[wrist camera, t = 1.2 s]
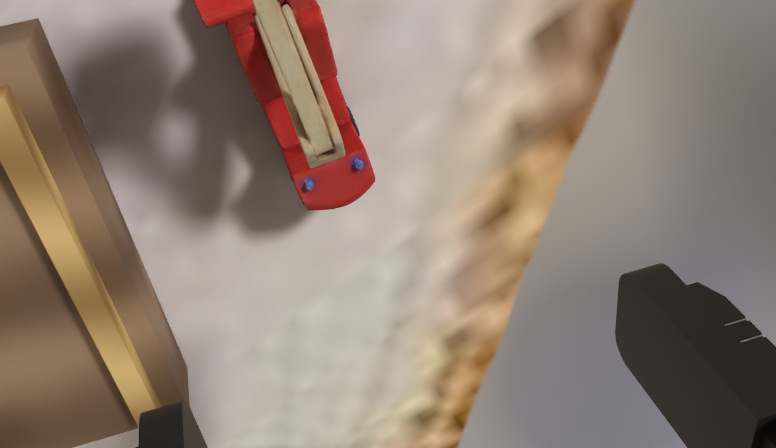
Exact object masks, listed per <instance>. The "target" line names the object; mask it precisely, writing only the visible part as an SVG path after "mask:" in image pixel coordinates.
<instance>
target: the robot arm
mask: <svg viewBox="0 0 776 448" xmlns="http://www.w3.org/2000/svg"><path fill="white" fill-rule="evenodd" d="M615 334H616V342H617V346H618V349H619V352H620V354H621V356H622V359H623V360H624V362H625V364H626V366H627V367H628V368H629V370H630V371H631V372H632V374H633V375H634V376H635V378H636V379H637V380H638V382H639V383H640V384H641V386H642V387H643V388H644V390H645V391H646V393H647V394H648V395H649V396H650V398H651V399H652V401H653V402H654V403H655V405H656V406H657V407H658V409H659V410H660V411H661V413H662V414H663V415H664V417H665V418H666V419H667V421H668V422H669V423H670V425H671V426H672V427H673V429H674V430H675V431H676V433H677V434H678V436H679V437H680V438H681V440H682V441H683V442H684V444H685V445H686V446H687V448H776V347H775V346H774V345H773V344H772V343H771V342H770V341H769V340H768V339H767V338H766V337H765V338H764V337H763V336H762V333H761V332H760V331H759V330H758V329H757V328H756V327H755V326H754V325H753V324H752V323H751V322H750V321H746V318H745V316H744V315H743V314H742V313H741V312H740V311H739V310H738V309H737V308H736V307H735V306H734V305H733V304H732V303H731V302H730V301H729V300H728V299H727V298H726V297H725V296H723V295H721V294H719V293H717V292H715V291H713V290H711V289H709V288H708V287H705V286H704V285H702V284H700V283H698V282H697V283H693V284H690V285H685V283H684V282H683V281H682V280H681V279H680V278H679V277H678V276H677V275H676V274H675V273H674V272H673V271H672V270H671V269H670V268H669V267H668V266H666V265H665V264H656V265H653V266H649V267H646V268H642V269H639V270H636V271H633V272H629V273H625V274H623V275H621V277H620V280H619V289H618V303H617V316H616V330H615ZM136 448H208V447H207V445H206V443H205V441H204V438H203V436H202V434H201V432H200V429H199V427H198V425H197V423H196V420H195V418H194V416H193V414H192V411H191V409H190V407H189V405H188V403H187V402H186V401H185V400H184V401H180V402H177V403H173V404H170V405H167V406H163V407H160V408H156V409H153V410H149V411H146V412H142V413H141V414H140V418H139V447H136Z"/></svg>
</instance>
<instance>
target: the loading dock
mask: <svg viewBox="0 0 776 448" xmlns="http://www.w3.org/2000/svg"><path fill="white" fill-rule="evenodd" d="M184 400H185V401H186V402H187V403H188V405H189V390H188V374H187V366H186V364H185V361H184V359H183V357H182V354H181V352H180V350H179V347H178V345H177V343H176V340H175V338H174V336H173V333H172V331H171V329H170V326H169V324H168V322H167V319H166V317H165V315H164V312H163V310H162V308H161V305H160V303H159V300H158V298H157V296H156V293H155V291H154V289H153V286H152V284H151V282H150V279H149V277H148V275H147V272H146V270H145V268H144V265H143V263H142V261H141V258H140V256H139V254H138V251H137V249H136V247H135V244H134V242H133V240H132V237H131V235H130V233H129V230H128V228H127V225H126V223H125V221H124V218H123V216H122V214H121V211H120V209H119V207H118V204H117V202H116V200H115V197H114V195H113V193H112V190H111V188H110V186H109V183H108V181H107V179H106V176H105V174H104V172H103V169H102V167H101V165H100V162H99V160H98V158H97V155H96V153H95V150H94V148H93V146H92V143H91V141H90V139H89V136H88V134H87V132H86V129H85V127H84V125H83V122H82V120H81V118H80V115H79V113H78V111H77V108H76V106H75V104H74V101H73V99H72V97H71V94H70V92H69V90H68V87H67V85H66V82H65V80H64V78H63V75H62V73H61V71H60V68H59V66H58V64H57V61H56V59H55V57H54V54H53V52H52V50H51V47H50V45H49V43H48V40H47V38H46V36H45V33H44V31H43V29H42V26H41V24H40V22H39V19H34V20H29V21H25V22H20V23H15V24H11V25H6V26H1V27H0V448H72V447H76V446H79V445H82V444H86V443H89V442H93V441H96V440H99V439H103V438H106V437H110V436H113V435H116V434H120V433H123V432H127V431H130V430H133V429H137V428H139V418H140V414H141V413H142V412H146V411H149V410H153V409H156V408H160V407H163V406H167V405H170V404H173V403H177V402H180V401H184Z"/></svg>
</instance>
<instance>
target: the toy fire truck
mask: <svg viewBox="0 0 776 448" xmlns="http://www.w3.org/2000/svg"><path fill="white" fill-rule="evenodd" d="M193 1H194V3H195V5H196V8H197V10H198V12H199V15H200V17H201V20H202V21H203V23H204V24H205V26H206V27H208V28H210V27H213V26H216V25H219V24H222V23H224V22H225V25H226V27H227V29H228V31H229V34H230V36H231V39H232V41H233V44H234V46H235V49H236V52H237V55H238V57H239V59H240V62H241V64H242V66H243V68H244V70H245V73H246V75H247V77H248V79H249V82H250V84H251V86H252V89H253V91H254V93H255V95H256V98H257V101H258V102H260V104H261V105H262V107H263V110H264V112H265V114H266V116H267V118H268V121H269V123H270V125H271V128H272V130H273V132H274V135H275V137H276V139H277V141H278V144H279V146H280V147H281V149H282V152H283V155H284V158H285V162H286V164H287V167H288V170H289V172H290V176H291V179H292V181H293V183H294V186H295V188H296V190H297V192H298V194H299V196H300V198H301V201H302V203H303V204H304V206H305V207H306V208H307V209H308V210H328V209H335V208H339V207H343V206H346V205H348V204H350V203H352V202H354V201H355V200H357V199H358V198H360V197H361V196H362V195H363V194H364V193H365V192H366V191H367V190H368V189H369V188H370V187H371V186H372V184H373V183H374V182H375V175H374V172H373V169H372V166H371V163H370V160H369V158H368V155H367V152H366V149H365V147H364V145H363V143H362V141H361V140H360V138H359V136H360V134H359V131H358V128H357V125H356V123H355V120H354V118H353V116H352V114H351V111H350V109H349V108H348V106H346V103H345V100H344V97H343V95H342V92H341V89H340V87H339V84H338V81H337V78H336V76H337V68H336V64H335V60H334V57H333V52H332V49H331V46H330V42H329V38H328V33H327V29H326V26H325V23H324V20H323V16H322V13H321V9H320V6H319V5H318V4H317V2H316V0H193Z"/></svg>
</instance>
